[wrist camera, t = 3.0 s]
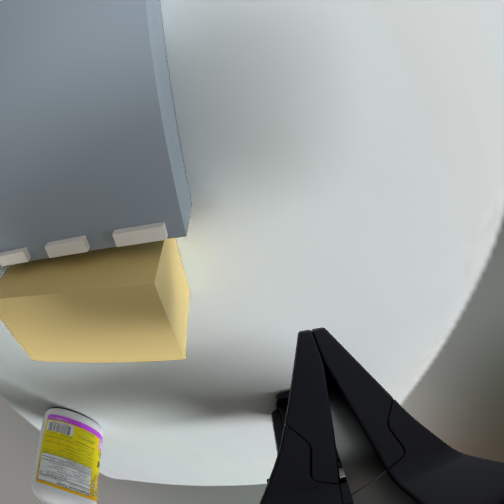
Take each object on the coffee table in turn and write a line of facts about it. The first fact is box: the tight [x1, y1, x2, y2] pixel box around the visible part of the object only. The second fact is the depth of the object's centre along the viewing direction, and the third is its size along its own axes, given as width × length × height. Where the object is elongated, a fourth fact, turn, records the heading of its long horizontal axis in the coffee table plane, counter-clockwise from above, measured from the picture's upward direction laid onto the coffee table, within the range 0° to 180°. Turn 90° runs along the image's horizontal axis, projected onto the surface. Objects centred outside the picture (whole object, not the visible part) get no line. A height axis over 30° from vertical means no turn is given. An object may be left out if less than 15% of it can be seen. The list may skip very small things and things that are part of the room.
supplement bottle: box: [31, 408, 103, 504], centre depth 18 cm, size 7×7×13 cm
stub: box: [0, 238, 190, 363], centre depth 11 cm, size 8×4×4 cm, turn 95°
